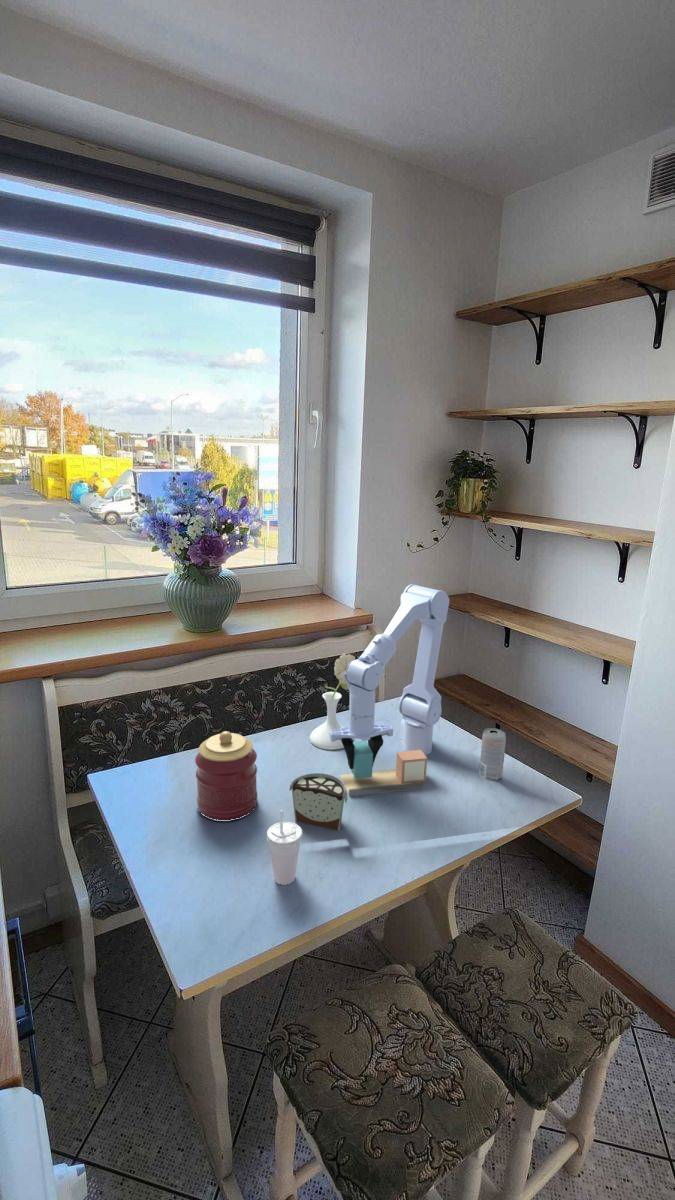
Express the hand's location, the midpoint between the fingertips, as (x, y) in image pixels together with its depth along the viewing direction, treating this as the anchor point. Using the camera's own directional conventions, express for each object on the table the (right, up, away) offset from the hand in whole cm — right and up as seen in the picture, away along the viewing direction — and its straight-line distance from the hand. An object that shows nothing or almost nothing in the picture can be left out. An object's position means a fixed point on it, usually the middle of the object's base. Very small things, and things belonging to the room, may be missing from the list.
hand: (360, 765), depth 140 cm
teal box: (0, -1, 0) cm, 1 cm away
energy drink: (+31, -5, +5) cm, 32 cm away
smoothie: (-15, -13, -29) cm, 35 cm away
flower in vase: (-6, 0, +20) cm, 21 cm away
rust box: (+12, -3, +2) cm, 13 cm away
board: (+5, -5, +1) cm, 7 cm away
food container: (-9, -9, -13) cm, 18 cm away
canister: (-29, -7, -8) cm, 31 cm away
